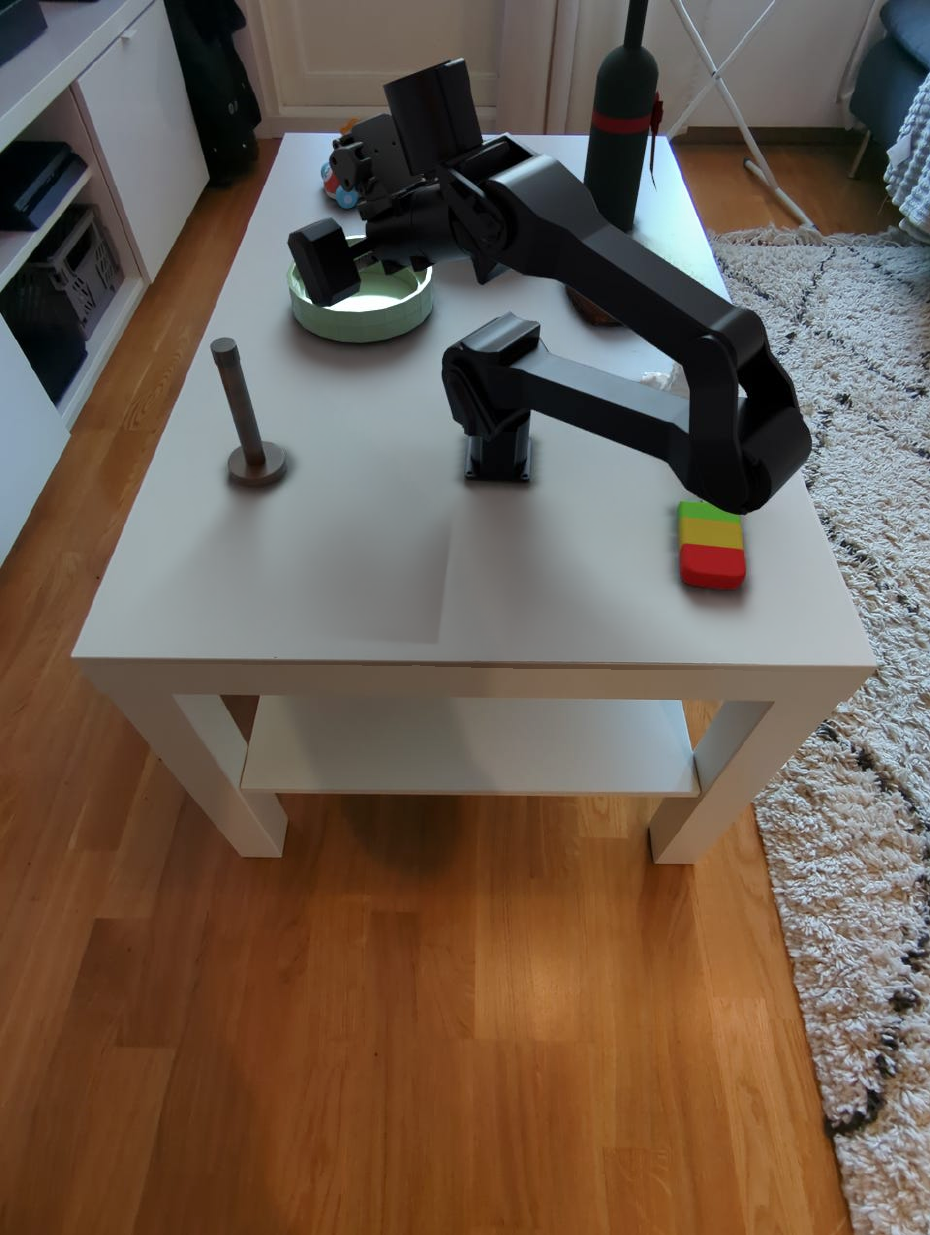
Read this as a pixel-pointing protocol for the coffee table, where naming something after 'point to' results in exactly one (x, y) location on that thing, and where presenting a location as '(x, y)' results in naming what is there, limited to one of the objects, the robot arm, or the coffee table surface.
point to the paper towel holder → (245, 424)
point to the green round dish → (367, 304)
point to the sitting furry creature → (668, 381)
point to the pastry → (591, 310)
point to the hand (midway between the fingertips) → (335, 242)
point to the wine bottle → (623, 123)
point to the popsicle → (710, 546)
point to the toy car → (331, 181)
